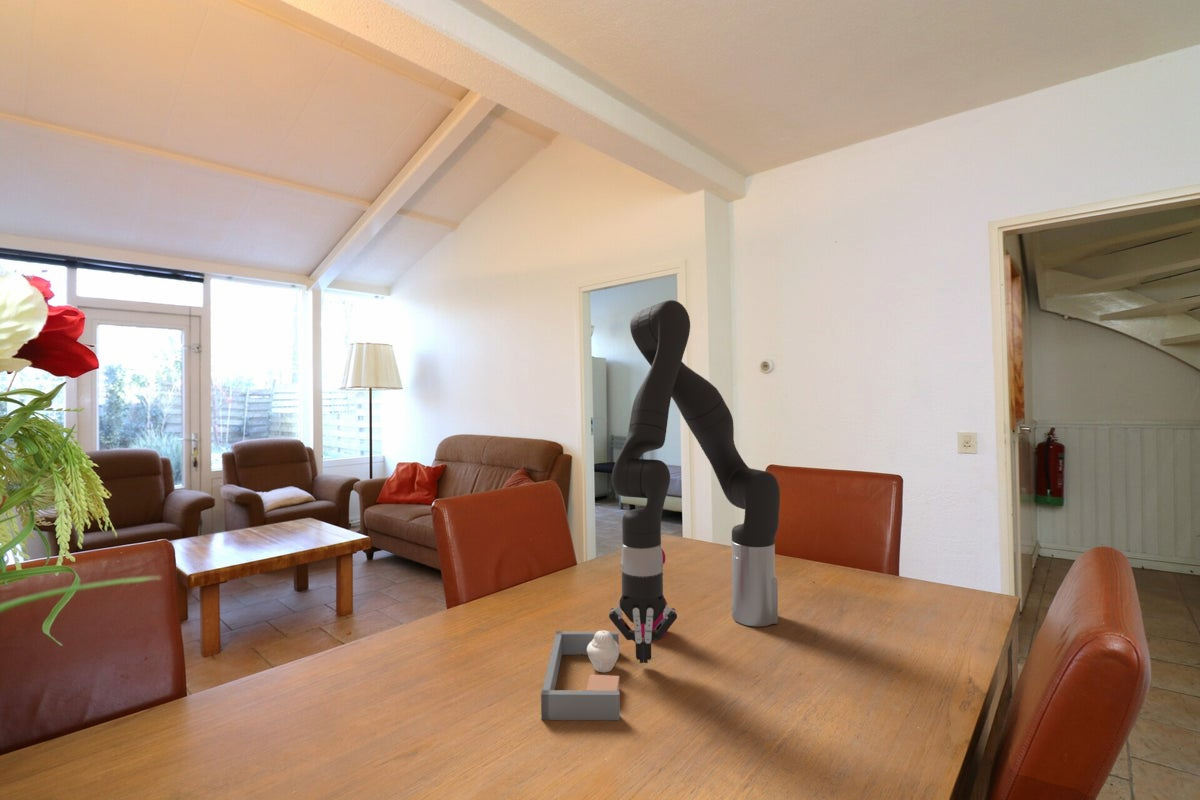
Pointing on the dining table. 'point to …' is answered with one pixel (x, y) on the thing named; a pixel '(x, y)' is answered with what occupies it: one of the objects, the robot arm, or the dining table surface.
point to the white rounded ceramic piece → (603, 651)
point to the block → (603, 683)
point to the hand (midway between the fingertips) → (643, 660)
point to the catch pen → (575, 701)
